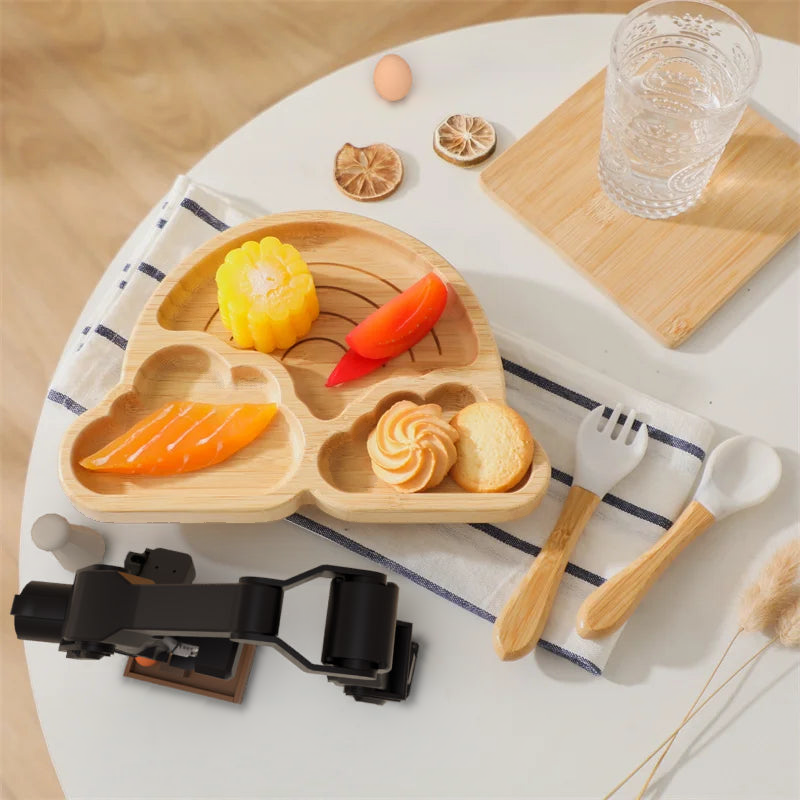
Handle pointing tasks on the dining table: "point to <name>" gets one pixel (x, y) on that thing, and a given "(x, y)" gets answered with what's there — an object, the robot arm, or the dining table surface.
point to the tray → (198, 678)
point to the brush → (173, 669)
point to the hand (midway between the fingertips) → (177, 641)
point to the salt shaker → (68, 542)
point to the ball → (145, 661)
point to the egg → (392, 77)
